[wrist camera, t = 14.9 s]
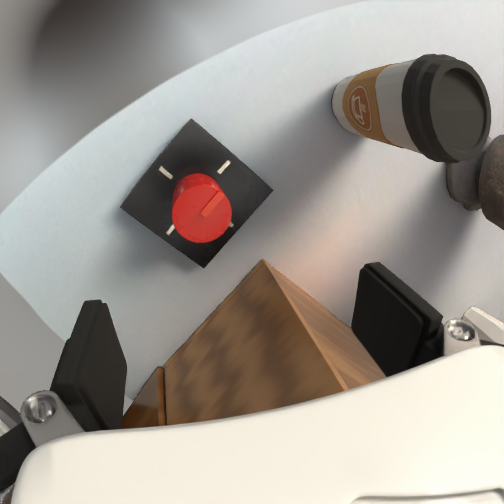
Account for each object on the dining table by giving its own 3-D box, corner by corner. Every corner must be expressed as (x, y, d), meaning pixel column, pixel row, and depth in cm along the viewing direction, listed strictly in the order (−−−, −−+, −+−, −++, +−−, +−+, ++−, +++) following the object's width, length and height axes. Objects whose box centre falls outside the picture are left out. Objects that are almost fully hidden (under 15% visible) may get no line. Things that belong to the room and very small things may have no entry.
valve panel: (202, 260, 32) (204, 269, 31) (123, 201, 28) (119, 207, 26) (267, 186, 31) (274, 190, 29) (190, 118, 27) (191, 118, 25)
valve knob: (200, 230, 29) (206, 255, 24) (162, 201, 27) (159, 221, 22) (231, 194, 28) (244, 211, 23) (194, 163, 26) (198, 173, 21)
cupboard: (264, 408, 44) (349, 618, 12) (164, 363, 37) (212, 664, 5) (352, 329, 42) (508, 539, 10) (262, 258, 34) (480, 613, 2)
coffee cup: (313, 70, 27) (413, 47, 14) (380, 66, 28) (487, 57, 15) (328, 148, 31) (429, 177, 17) (391, 137, 32) (496, 161, 18)
